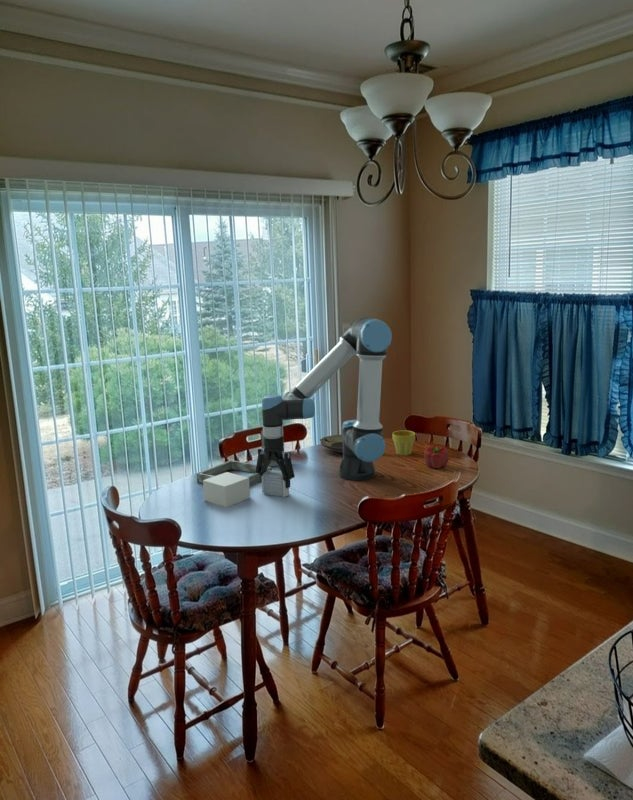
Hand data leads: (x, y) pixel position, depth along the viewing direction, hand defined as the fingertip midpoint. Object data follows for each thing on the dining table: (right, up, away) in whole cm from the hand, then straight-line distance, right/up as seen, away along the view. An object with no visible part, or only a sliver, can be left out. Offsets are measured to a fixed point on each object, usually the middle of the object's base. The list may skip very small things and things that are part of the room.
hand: (275, 493), depth 230 cm
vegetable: (+66, +7, +27) cm, 72 cm away
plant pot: (+56, +11, +49) cm, 75 cm away
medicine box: (0, -1, 0) cm, 1 cm away
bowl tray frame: (-18, +3, +20) cm, 27 cm away
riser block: (-18, -2, -4) cm, 18 cm away
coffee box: (-3, +7, +38) cm, 39 cm away
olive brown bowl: (+31, +11, +54) cm, 63 cm away
